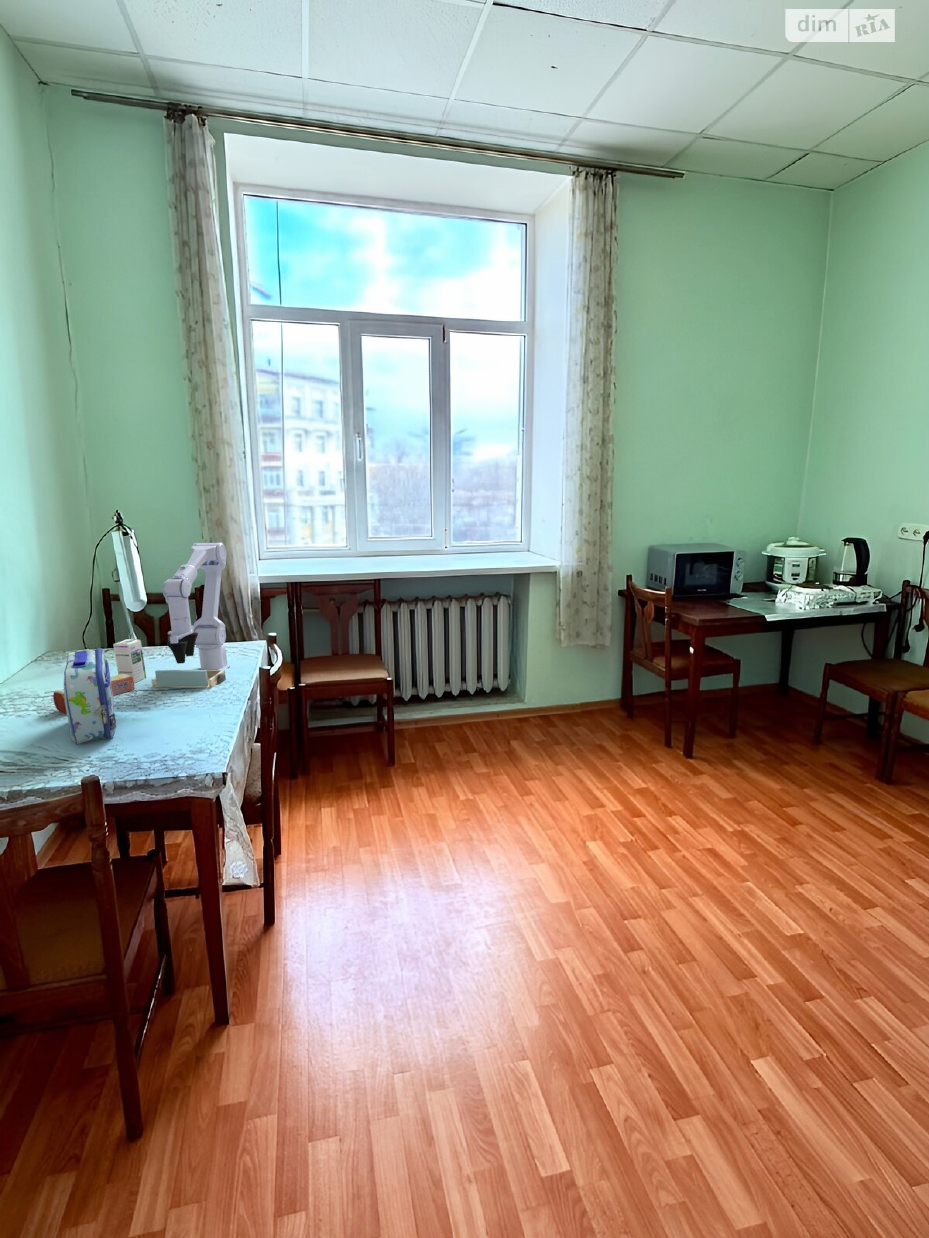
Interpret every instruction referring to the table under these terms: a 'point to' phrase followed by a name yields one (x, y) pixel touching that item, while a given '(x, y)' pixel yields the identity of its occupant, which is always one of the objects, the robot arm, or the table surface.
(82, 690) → the lunch box
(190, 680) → the tailgate
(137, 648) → the syrup box
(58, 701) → the snack package
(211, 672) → the beige tray
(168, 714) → the table surface
